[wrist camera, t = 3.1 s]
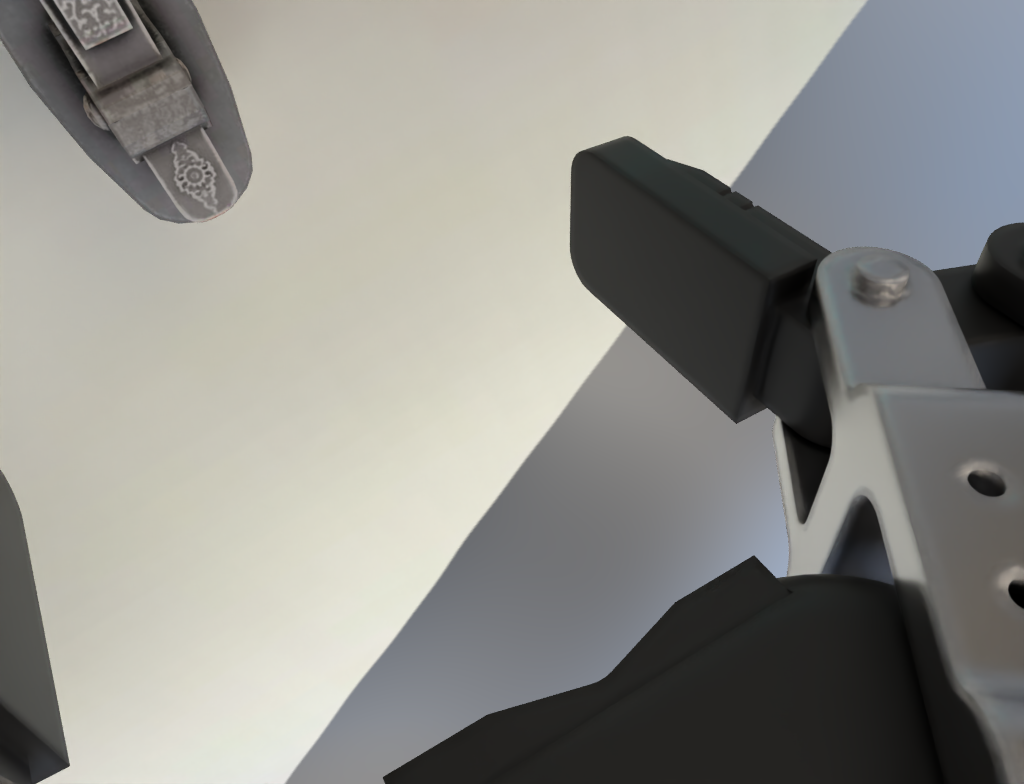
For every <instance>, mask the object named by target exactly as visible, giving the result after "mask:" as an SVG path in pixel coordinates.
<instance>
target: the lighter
mask: <svg viewBox="0 0 1024 784" xmlns="http://www.w3.org/2000/svg"><path fill="white" fill-rule="evenodd" d="M0 40H1V41H2V43H3V44H4V46H5V47H6V49H7V51H8V52H9V54H10V55H11V57H12V58H13V60H14V62H15V63H16V65H17V66H18V68H19V69H20V71H21V73H22V74H23V76H24V77H25V79H26V80H27V82H28V84H29V85H30V87H31V88H32V89H33V91H34V92H35V93H36V94H37V95H38V97H39V98H40V99H41V100H42V101H43V102H44V104H45V105H46V106H47V107H48V108H49V110H50V111H51V112H52V113H53V114H54V116H55V117H56V118H57V119H58V120H59V122H60V123H61V124H62V125H63V126H64V128H65V129H66V130H67V131H68V132H69V134H70V135H71V136H72V137H73V138H74V140H75V141H76V142H77V143H78V144H79V146H80V147H81V148H82V149H83V150H84V152H85V153H86V154H87V155H88V156H89V158H91V159H92V160H93V161H94V162H95V163H96V164H97V165H98V166H99V167H100V168H101V169H102V170H103V171H104V172H105V173H106V174H107V175H108V176H109V177H110V178H111V179H113V180H114V181H115V182H116V183H117V184H118V185H119V186H120V187H121V188H122V189H123V190H124V191H125V192H126V193H127V194H128V195H129V196H130V197H131V198H132V199H133V200H135V201H136V202H137V203H138V204H139V205H140V206H141V207H142V208H143V209H144V210H145V211H147V212H149V213H150V214H152V215H153V216H155V217H157V218H158V219H161V220H165V221H170V222H174V223H192V222H206V221H208V220H211V219H214V218H216V217H217V216H219V215H221V214H223V213H225V212H226V211H227V210H229V209H230V208H232V207H233V205H234V204H235V203H236V202H237V200H238V199H239V198H240V196H241V195H242V194H243V192H244V191H245V190H246V188H247V186H248V183H249V180H250V177H251V174H252V171H253V169H252V156H251V151H250V148H249V145H248V141H247V138H246V135H245V131H244V128H243V125H242V122H241V118H240V115H239V112H238V108H237V105H236V102H235V99H234V95H233V92H232V89H231V86H230V84H229V81H228V79H227V77H226V74H225V72H224V70H223V68H222V65H221V63H220V61H219V58H218V56H217V54H216V52H215V49H214V47H213V45H212V42H211V40H210V38H209V36H208V33H207V31H206V29H205V26H204V24H203V22H202V20H201V17H200V15H199V13H198V10H197V8H196V7H195V5H194V3H193V2H192V0H0Z"/></svg>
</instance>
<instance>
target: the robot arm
mask: <svg viewBox="0 0 1024 784" xmlns="http://www.w3.org/2000/svg"><path fill="white" fill-rule="evenodd" d="M570 253H571V259H572V263H573V266H574V269H575V271H576V273H577V275H578V277H579V279H580V281H581V282H582V284H583V285H584V286H585V287H586V288H587V289H588V290H589V291H590V292H591V293H592V294H593V295H594V296H595V297H596V298H597V299H599V300H600V301H601V302H602V303H603V304H604V305H605V306H606V307H607V308H609V309H610V310H611V311H612V312H613V313H614V314H615V315H616V316H617V317H619V318H620V319H621V320H622V321H623V322H624V323H625V324H626V325H627V326H628V327H630V328H631V329H632V330H633V331H634V332H635V333H636V334H637V335H638V336H640V337H641V338H642V339H643V340H644V341H645V342H646V343H647V344H648V345H650V346H651V347H652V348H653V349H654V350H655V351H656V352H657V353H658V354H660V355H661V356H662V357H663V358H664V359H665V360H666V361H667V362H668V363H669V364H671V365H672V366H673V367H674V368H675V369H676V370H677V371H678V372H679V373H681V374H682V375H683V376H684V377H685V378H686V379H687V380H688V381H689V382H691V383H692V384H693V385H694V386H695V387H696V388H697V389H698V390H699V391H701V392H702V393H703V394H704V395H705V396H706V397H707V398H708V399H709V400H710V401H712V402H713V403H714V404H715V405H716V406H717V407H718V408H719V409H720V410H721V411H723V412H724V413H725V414H726V415H727V416H728V417H729V418H730V419H731V420H733V421H734V422H735V423H736V424H737V423H739V422H741V421H743V420H745V419H747V418H748V417H750V416H752V415H754V414H756V413H758V412H760V411H762V410H764V409H766V408H768V409H770V410H771V411H772V412H773V413H774V414H776V418H775V422H774V425H773V430H772V435H773V442H774V449H775V456H776V462H777V469H778V475H779V482H780V489H781V495H782V501H783V508H784V515H785V521H786V528H787V534H788V543H789V563H788V571H787V577H781V578H775V576H774V575H773V574H772V573H771V572H770V571H769V570H768V569H767V568H766V567H765V566H764V565H763V564H762V563H761V562H760V561H759V560H758V559H757V558H756V557H755V556H752V557H751V558H749V559H747V560H745V561H744V562H742V563H740V564H739V565H737V566H736V567H734V568H732V569H730V570H729V571H727V572H725V573H724V574H722V575H720V576H719V577H717V578H715V579H714V580H712V581H710V582H709V583H707V584H705V585H704V586H702V587H700V588H699V589H697V590H695V591H694V592H692V593H691V594H689V595H687V596H685V597H683V598H682V599H680V600H678V601H677V602H675V603H674V605H672V606H671V608H670V609H669V610H668V611H667V612H666V613H665V614H664V615H663V616H662V618H660V620H659V621H658V622H657V623H656V624H655V625H654V626H653V627H652V628H651V629H650V630H649V632H648V633H647V634H646V635H645V636H644V637H643V638H642V639H641V640H640V642H638V644H637V645H636V646H635V647H634V648H633V649H632V650H631V651H630V652H629V653H628V654H627V656H626V657H625V658H624V659H623V660H622V661H621V662H620V663H619V664H618V665H617V666H616V667H615V669H614V670H613V671H612V672H611V673H610V674H609V675H608V676H606V677H605V678H603V679H602V680H600V681H598V682H596V683H593V684H590V685H587V686H583V687H580V688H577V689H573V690H570V691H566V692H563V693H560V694H556V695H553V696H549V697H546V698H543V699H540V700H536V701H532V702H529V703H526V704H522V705H519V706H515V707H512V708H508V709H505V710H502V711H498V712H495V713H492V714H488V715H486V716H485V717H483V718H481V719H480V720H478V721H476V722H475V723H473V724H471V725H469V726H468V727H466V728H464V729H463V730H461V731H459V732H458V733H456V734H454V735H453V736H451V737H449V738H448V739H446V740H444V741H443V742H441V743H439V744H438V745H436V746H434V747H433V748H431V749H429V750H428V751H426V752H424V753H423V754H421V755H419V756H417V757H416V758H414V759H412V760H411V761H409V762H407V763H406V764H404V765H402V766H401V767H399V768H397V769H396V770H394V771H392V772H391V773H389V774H388V775H386V776H384V777H383V779H384V782H385V784H1024V223H1014V224H1009V225H1006V226H1002V227H1000V228H998V229H997V230H995V231H994V232H993V233H991V235H990V236H989V238H988V240H987V242H986V245H985V247H984V249H983V251H982V253H981V256H980V258H979V260H978V263H977V264H975V265H969V266H963V267H956V268H949V269H942V270H936V271H932V270H930V269H929V268H928V267H927V266H926V265H924V264H923V263H921V262H920V261H918V260H916V259H914V258H912V257H910V256H908V255H905V254H902V253H900V252H896V251H892V250H889V249H883V248H877V247H852V248H846V249H842V250H839V251H836V252H834V253H831V252H830V251H828V250H827V249H825V248H823V247H822V246H820V245H819V244H817V243H816V242H814V241H812V240H811V239H809V238H808V237H806V236H805V235H803V234H802V233H800V232H799V231H797V230H795V229H794V228H792V227H791V226H789V225H787V224H786V223H784V222H783V221H781V220H780V219H778V218H777V217H775V216H773V215H772V214H771V213H769V212H767V211H766V210H764V209H762V208H761V207H760V206H756V207H754V206H753V204H752V201H750V200H749V199H747V198H745V197H744V196H742V195H741V194H739V193H737V192H733V193H732V192H731V188H730V187H728V186H727V185H725V184H724V183H722V182H721V181H719V180H717V179H716V178H714V177H713V176H711V175H710V174H708V173H707V172H705V171H703V170H700V169H697V168H694V167H691V166H688V165H684V164H681V163H678V162H675V161H672V160H669V159H665V158H664V157H662V156H661V155H659V154H658V153H656V152H655V151H653V150H652V149H650V148H648V147H647V146H645V145H644V144H642V143H641V142H639V141H638V140H636V139H634V138H632V137H629V136H624V137H621V138H618V139H615V140H613V141H610V142H607V143H604V144H601V145H598V146H595V147H592V148H589V149H586V150H583V151H581V152H579V153H577V154H576V156H575V157H574V160H573V162H572V167H571V212H570ZM69 766H70V764H69V759H68V753H67V748H66V743H65V738H64V732H63V727H62V722H61V717H60V712H59V706H58V701H57V696H56V691H55V685H54V680H53V675H52V670H51V665H50V659H49V654H48V649H47V644H46V638H45V633H44V628H43V623H42V618H41V612H40V607H39V602H38V597H37V591H36V586H35V581H34V576H33V571H32V565H31V560H30V555H29V550H28V545H27V539H26V534H25V529H24V524H23V519H22V515H21V511H20V508H19V505H18V503H17V500H16V498H15V495H14V493H13V491H12V489H11V487H10V485H9V483H8V481H7V480H6V478H5V476H4V474H3V473H2V471H1V470H0V784H36V783H38V782H40V781H42V780H44V779H46V778H48V777H50V776H52V775H53V774H55V773H57V772H59V771H61V770H63V769H65V768H67V767H69Z"/></svg>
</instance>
